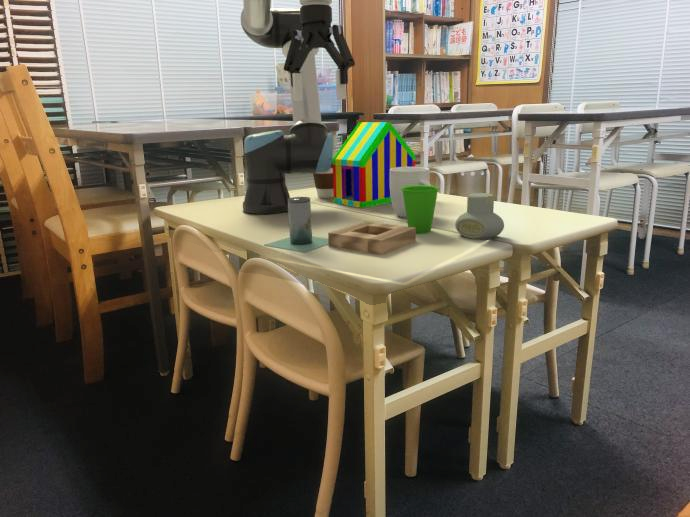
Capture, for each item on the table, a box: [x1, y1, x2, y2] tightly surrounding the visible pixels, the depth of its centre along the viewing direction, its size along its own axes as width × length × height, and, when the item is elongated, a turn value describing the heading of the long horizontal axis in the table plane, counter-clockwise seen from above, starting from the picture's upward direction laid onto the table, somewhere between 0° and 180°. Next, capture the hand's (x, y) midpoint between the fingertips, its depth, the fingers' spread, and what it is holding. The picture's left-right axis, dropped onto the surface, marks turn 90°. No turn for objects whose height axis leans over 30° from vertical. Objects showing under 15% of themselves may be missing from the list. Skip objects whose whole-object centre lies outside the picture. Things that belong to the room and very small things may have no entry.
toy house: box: [332, 121, 416, 209], centre depth 176 cm, size 24×14×25 cm, turn 132°
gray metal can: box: [287, 196, 313, 245], centre depth 123 cm, size 5×5×10 cm
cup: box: [401, 185, 440, 234], centre depth 131 cm, size 9×9×11 cm
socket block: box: [327, 221, 417, 256], centre depth 122 cm, size 14×14×4 cm
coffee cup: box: [312, 161, 334, 199], centre depth 187 cm, size 11×11×12 cm
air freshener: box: [454, 192, 505, 240], centre depth 126 cm, size 11×8×10 cm
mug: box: [390, 166, 432, 219], centre depth 150 cm, size 15×11×13 cm
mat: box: [263, 235, 329, 253], centre depth 124 cm, size 12×12×1 cm
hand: (319, 100), depth 134 cm, fingers open, 13 cm apart
